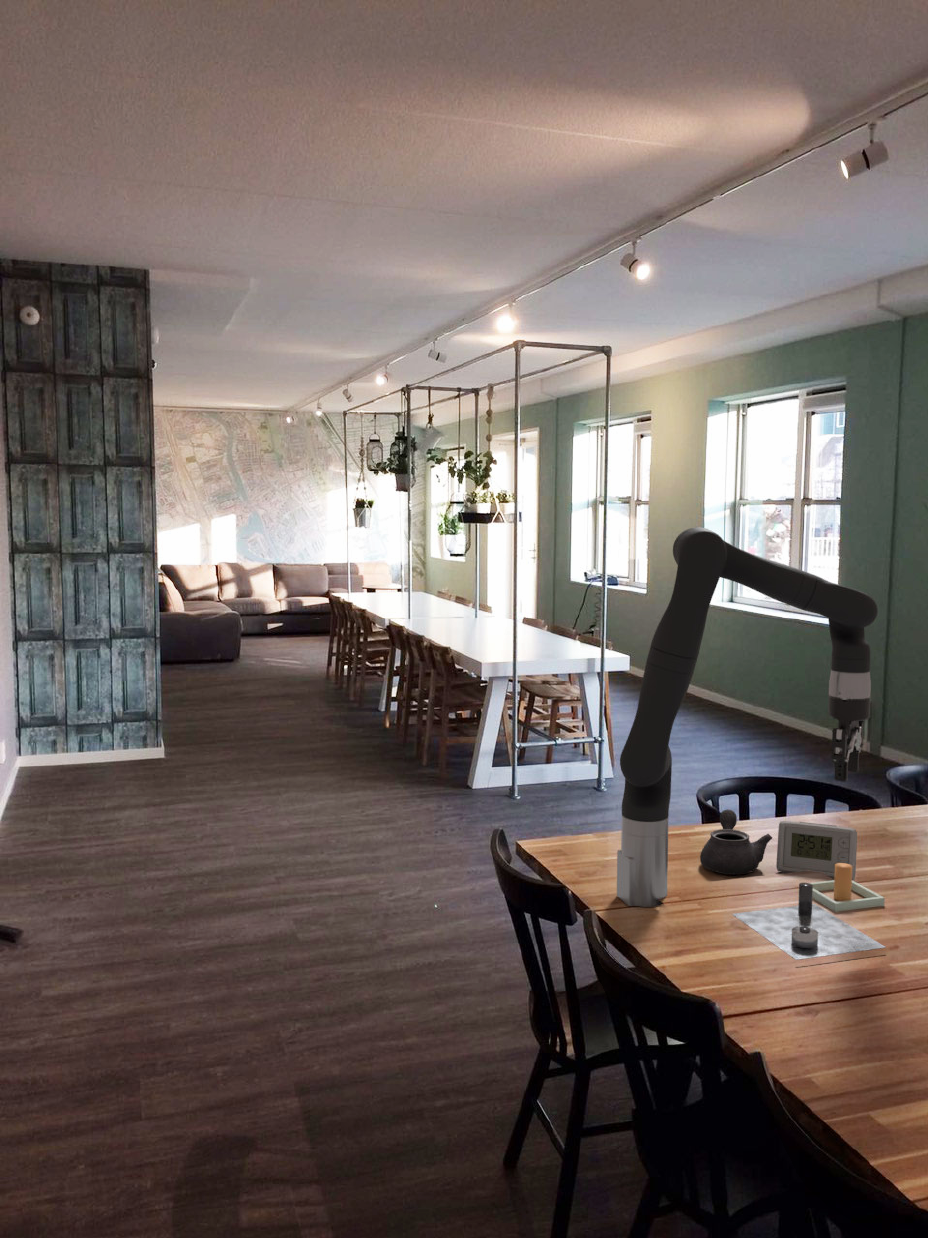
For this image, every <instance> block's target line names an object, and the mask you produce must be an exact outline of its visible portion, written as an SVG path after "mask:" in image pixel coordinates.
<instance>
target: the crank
mask: <svg viewBox="0 0 928 1238" xmlns="http://www.w3.org/2000/svg"><path fill="white" fill-rule="evenodd" d="M810 883H811V882H800V883H798V904H797V906H798V927H794V928H792V938H791V942H792V943H793V944H794V945H796V946H798V947H802V948H814V947H816V946H817V945H818V931H817V930H815V929H813V928H812V904H813V898H812V894H813V885H812V884H810Z"/></svg>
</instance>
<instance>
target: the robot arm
mask: <svg viewBox="0 0 928 1238" xmlns="http://www.w3.org/2000/svg"><path fill="white" fill-rule="evenodd" d="M672 555H673V558H674V561H675V563H676V565H677V570H676V574H675V575H676V576H675V580H674V586H673V591H672V594H671V598H670V600H669V603H668V604H667V605H668V606H667V607H666V610H665V611H664V613H663V615H662V617H661V618H660V621H659V623H658V625H657V627H656V630H655V632H654V634H653V636H652V640H651V643H650V647H649V650H648V654H647V657H646V662H645V666H644V671H643V675H642V680H641V686H640V691H639V697H638V698H639V699H638V702H637V708H636V714H635V716H634V718H633V723H632V724H631V725H632V726H631V728H630V731H629V733H628V736H627V738H626V741H625V743H624V746H623V749H622V750H621V753H620V756H619V757H620V758H619V766H620V771H621V773H622V775H623V777H624V778H625V779H624V791H623V794H622V796H623V797H622V801H621V836H620V837H621V843H620V845H621V847H620V848H621V849H618V850H617V851H616V896H617V898H619V899H620V900H621V901H622V902H624V904H626V905H627V906H629V907H641V908H642V907H643V908H652V907H658V906H662V905H664V903H663V901H661V899H664V898H666V897H667V896H668V866H669V863H668V861H669V860H668V859H669V818H670V817H669V816H670V815H669V813H670V802H671V795H672V794H671V793H672V767H673V764H672V761H673V758H672V757H673V756H672V751H671V748H670V746H669V743H670V739H671V734H672V729H673V726H674V723H675V720H676V717H677V715H678V712H679V710H680V708H681V705H682V704H683V702H684V700H685V698H686V695H687V692H688V690H689V687H690V684H691V682H692V679H693V676H694V672H695V668H696V665H697V661H698V657H699V654H700V651H701V650H700V649H701V647H702V646H701V645H702V642H703V635H704V633H705V628H706V622H707V618H708V613H709V609H710V605H711V601H712V599H713V596H714V594H715V592H716V588H717V586H718V583H719V581H720V578H721V579H725V580H729V581H732V582H735V583H737V584H740V585H742V586H745V587H747V588H750V589H752V590H754V591H756V592H758V593H760V594H762V595H764V596H766V597H768V598H770V599H773V600H775V601H778V602H781V603H782V604H785V605H788V606H790V607H794V608H796V609H799V610H801V611H805V612H808V613H813V614H817V615H820V616H823V617H824V618H827V619H828V626H829V627H828V628H829V637H830V640H831V641H830V642H831V646H832V647H831V668H830V676H829V682H828V683H829V684H828V706H827V707H828V709H827V710H828V712H827V713H828V717H829V718H831V719H835V720H837V721H838V724H837V727H835V728H834V727H833V728H832V730H831V731H832V732H831V733H832V736H831V753H830V757H831V760H832V761H834V780H835V781H837V782H846V781H848V774H849V773H848V772H852V773H857V772H858V771H859V765H860V763H859V761H860V754H861V751H862V748H863V747H864V723H865V721H867V720H869V719H870V718H871V716H870V715H871V713H870V711H871V692H872V691H871V690H872V689H871V687H872V686H871V685H872V681H871V646H870V644H869V643H868V641H867V640H866V636H865V628H867V627H870V625H871V624H873V623H875V620H876V619H877V617H878V612H879V611H878V609H879V608H878V605H877V602H876V600H874V598H873V597H872V596H870V595H869V594H868V593H866V592H864V591H860V590H858V589H854V588H851V587H848V586H844V585H841V584H837V583H834V582H831V581H828V580H826V579H824V578H823V577H820V576H818V575H815V574H813V573H809V572H807V571H806V570H805V571H804V570H802V569H799V568H797V567H793V566H791V565H787V564H784V563H781V562H779V561H778V562H777V561H775V560H772V559H767V558H766V557H762V556H759V555H756V554H754V553H750V552H749V551H747V550H746V551H745V550H743V549H740V548H739V547H737V546H735V545H733V544H731V543H730V542H728V541H726V540H724V539H723V538H722V537H721V536H720V534H718V533H716V532H715V531H713V530H711V529H709V528H705V527H703V526H702V527H699V526H695V527H690V528H688V529H685V530H682V532H681V533H679V534H678V535H677V537H676V538H675V540H674V541H673V545H672ZM840 752H841V753H840Z"/></svg>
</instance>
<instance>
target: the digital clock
mask: <svg viewBox="0 0 928 1238" xmlns="http://www.w3.org/2000/svg"><path fill="white" fill-rule="evenodd" d="M857 831H858V830H857V829H855V828H853V827H846V826H837V825H833V824H821V823H815V822H806V821H804V822H803V821H799V822H796V821H790V820H789V821H788V820H782V821H780V822H779V823H778V834H777V847H776V848H777V849H776V865H775V867H776V870H777V872H780V873H785V874H791V873H801V872H802V873H803V872H815V873H822V874H823V875H825V876H828V877H829V878H831V879H832V880H834V878H835V864H837V863H846V864H850V865H851V866H852V880H853V881H854V880H855V879H856V871H857V869H856V868H857V867H856V866H857V850H858V849H857V848H858V832H857Z"/></svg>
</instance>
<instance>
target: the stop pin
mask: <svg viewBox="0 0 928 1238" xmlns="http://www.w3.org/2000/svg"><path fill="white" fill-rule="evenodd" d="M833 880H834V889H833V900H835V901H837V902H840V901H848V900H852V890H851V888H852V866H851V865H850V864H846V863H837V864H835V878H834V879H833Z"/></svg>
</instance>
